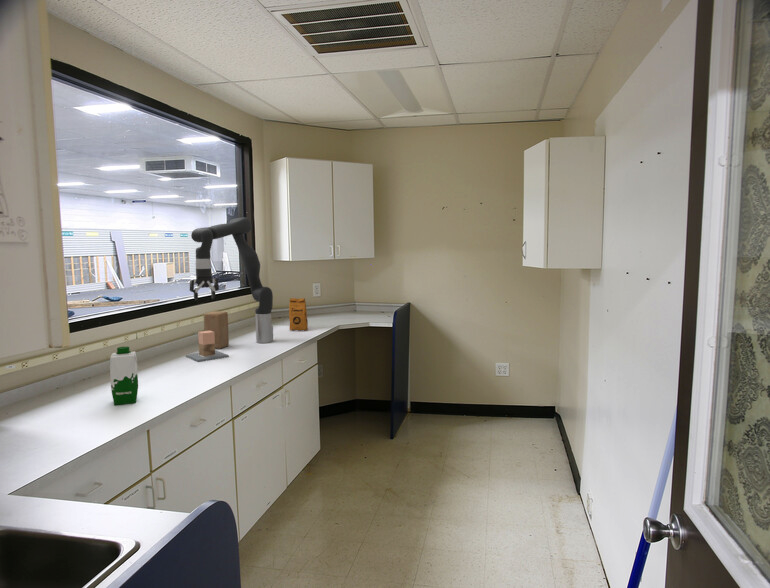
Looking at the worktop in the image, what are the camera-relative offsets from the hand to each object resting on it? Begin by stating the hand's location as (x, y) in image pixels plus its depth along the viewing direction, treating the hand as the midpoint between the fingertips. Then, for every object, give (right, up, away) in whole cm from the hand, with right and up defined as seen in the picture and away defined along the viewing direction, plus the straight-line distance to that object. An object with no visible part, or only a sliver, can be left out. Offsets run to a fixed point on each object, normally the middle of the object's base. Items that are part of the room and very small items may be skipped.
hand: (204, 299), depth 250 cm
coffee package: (+34, -22, +81) cm, 91 cm away
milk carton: (-4, -38, -69) cm, 79 cm away
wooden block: (-3, -28, +27) cm, 39 cm away
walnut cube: (0, -29, +3) cm, 29 cm away
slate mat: (0, -30, +3) cm, 30 cm away
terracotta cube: (0, -23, +2) cm, 23 cm away
